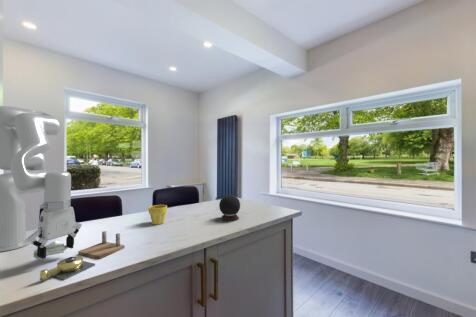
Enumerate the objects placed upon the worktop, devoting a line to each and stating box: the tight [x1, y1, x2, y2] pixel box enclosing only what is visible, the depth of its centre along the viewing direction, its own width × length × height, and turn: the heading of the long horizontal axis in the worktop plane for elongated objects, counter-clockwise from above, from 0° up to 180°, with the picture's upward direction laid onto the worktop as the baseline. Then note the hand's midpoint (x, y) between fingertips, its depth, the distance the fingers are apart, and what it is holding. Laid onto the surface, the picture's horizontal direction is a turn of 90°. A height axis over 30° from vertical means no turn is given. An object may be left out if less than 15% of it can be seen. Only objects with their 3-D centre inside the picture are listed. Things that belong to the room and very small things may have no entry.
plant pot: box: [148, 204, 168, 226], centre depth 128 cm, size 10×10×10 cm
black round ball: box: [218, 194, 241, 222], centre depth 137 cm, size 13×13×15 cm
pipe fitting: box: [32, 240, 69, 261], centre depth 81 cm, size 8×4×7 cm
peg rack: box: [77, 230, 126, 260], centre depth 89 cm, size 12×11×6 cm
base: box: [51, 260, 96, 281], centre depth 74 cm, size 10×10×1 cm
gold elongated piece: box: [39, 255, 84, 281], centre depth 72 cm, size 7×12×3 cm, turn 159°
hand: (56, 252), depth 80 cm, fingers closed on pipe fitting, 8 cm apart
